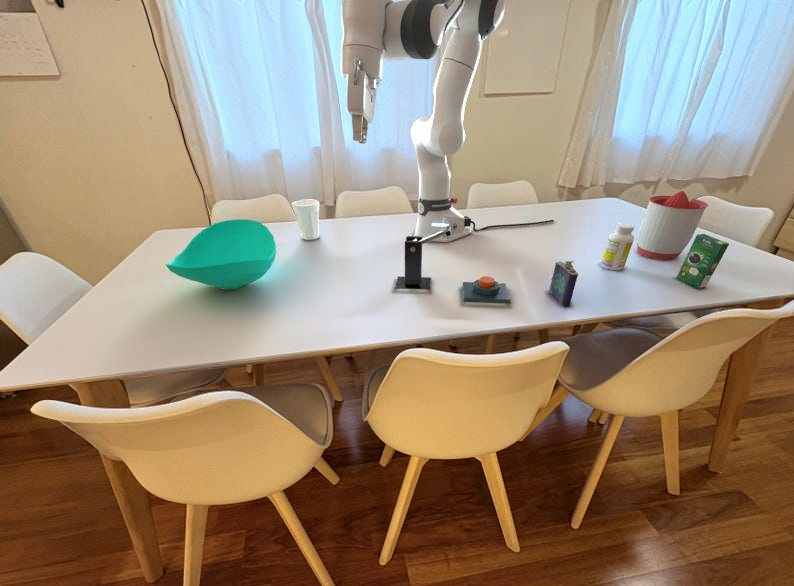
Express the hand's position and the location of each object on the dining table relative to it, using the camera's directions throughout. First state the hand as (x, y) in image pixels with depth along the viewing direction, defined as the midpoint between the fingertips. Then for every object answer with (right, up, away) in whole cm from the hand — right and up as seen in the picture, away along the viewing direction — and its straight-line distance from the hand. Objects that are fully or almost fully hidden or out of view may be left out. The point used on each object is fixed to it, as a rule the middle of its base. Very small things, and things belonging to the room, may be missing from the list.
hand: (360, 142), depth 86 cm
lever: (+18, -19, +14) cm, 29 cm away
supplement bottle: (+76, -21, +32) cm, 86 cm away
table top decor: (-40, -28, +25) cm, 55 cm away
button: (+32, -31, +13) cm, 47 cm away
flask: (+52, -34, +14) cm, 64 cm away
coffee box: (+93, -29, +21) cm, 100 cm away
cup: (-25, -3, +58) cm, 63 cm away
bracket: (+13, -29, +22) cm, 39 cm away
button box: (+32, -33, +16) cm, 49 cm away
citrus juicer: (+97, -15, +40) cm, 106 cm away
